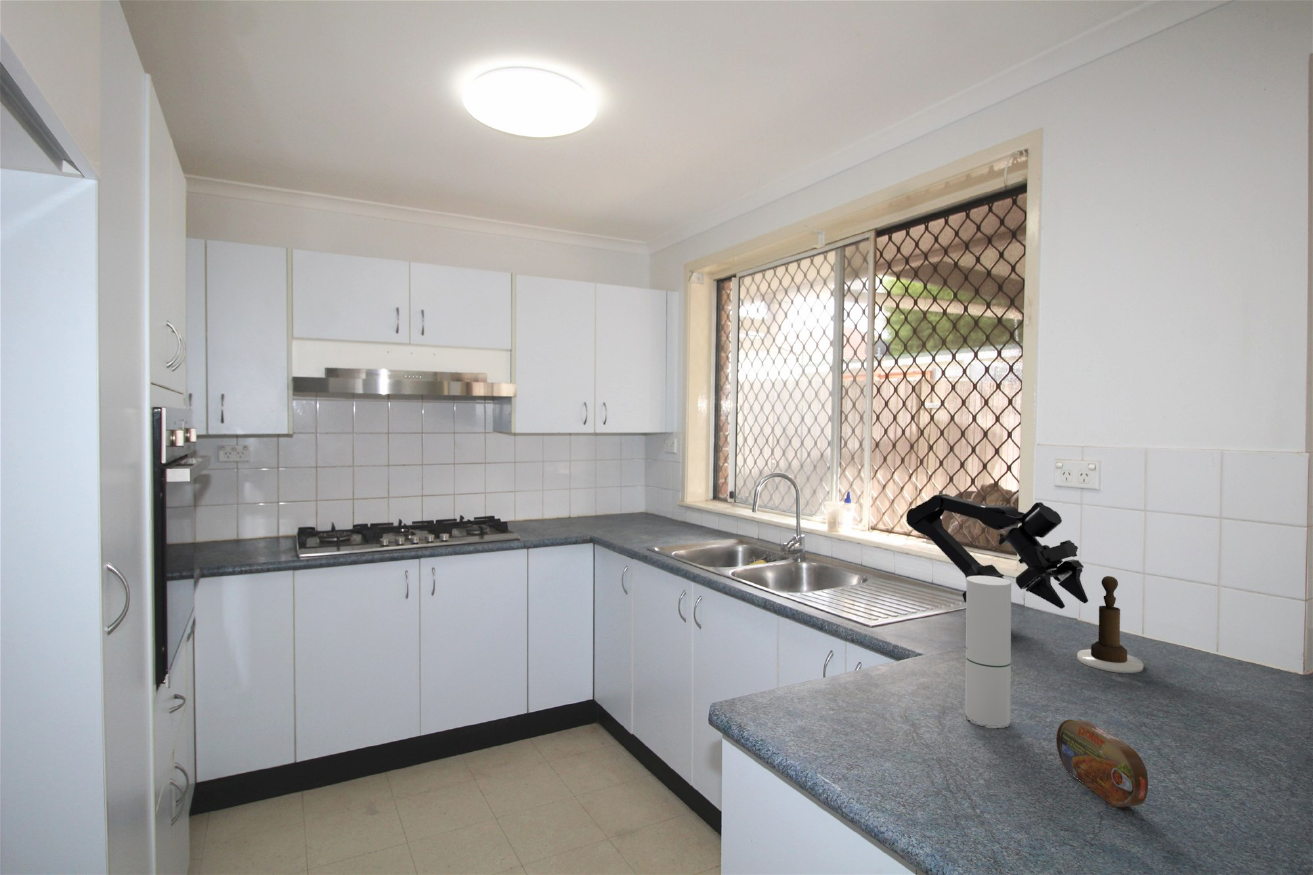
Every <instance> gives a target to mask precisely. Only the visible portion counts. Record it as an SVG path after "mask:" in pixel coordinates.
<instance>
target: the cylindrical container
mask: <svg viewBox="0 0 1313 875" xmlns="http://www.w3.org/2000/svg"><path fill="white" fill-rule="evenodd" d="M1003 578H1004V577H1003ZM1003 578H999V577H992V576H970V577H967V578H966V577H965V579H966V580H965V582H966V589H965V591H966V602H965V604H966V605H965V619H966V620H965V699H964V701H965V712H964V713H966V715H967V716H968V717H969V718H970V719H973V720H974V721H978V722H979V723H985V724H988V725H998V726H1001V725H1007V724H1009V723H1010V724H1011V674H1012V672H1011V670H1012V669H1011V664H1012V663H1011V662H1012V661H1011V660H1012V659H1011V658H1012V656H1011V655H1012V653H1011V652H1012V635H1011V634H1012V581H1010V580H1008V579H1006V578H1004V579H1003Z"/></svg>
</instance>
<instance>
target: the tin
mask: <svg viewBox="0 0 1313 875" xmlns="http://www.w3.org/2000/svg"><path fill="white" fill-rule="evenodd" d="M1055 738H1056V739H1055V740H1056V748H1057V749H1056V750H1057V753H1058V756H1059V759H1060V761H1061V764H1062V766H1063V767H1064V769H1065V771H1066V772H1067V771H1068V772H1067V773H1068V774H1069V773H1071V774H1072V775H1074V776H1075V777H1076V778H1078V780H1080V781H1081V782H1083V784H1085V785H1086V786H1088V787H1089V788H1090V789H1091V790H1090V789H1089V788H1088V789H1089V790H1090V791H1092V790H1093V791H1094V792H1096V793H1095V794H1096V795H1097V794H1098V795H1099V796H1098V795H1097V796H1098V797H1100V796H1101V797H1102V798H1103V800H1104V799H1105V800H1106V801H1105V800H1104V801H1105V802H1107V803H1108V804H1109V803H1110V805H1111V806H1113V807H1117V808H1125V807H1137V806H1138V807H1139V806H1140V805H1141V804H1143V803H1144V802H1145V801H1146V799H1147V796H1148V791H1149V779H1148V778H1149V777H1148V776H1149V774H1148V771H1147V768H1146V765H1145V763H1144V762H1143V759H1142V758H1141V757H1140V755H1139V753H1137V751H1136V750H1135V749H1134V748H1133V747H1131V746H1130V745H1129V744H1128V743H1125V742H1124V741H1122V740H1120V739H1118V738H1117V737H1115V736H1113V735H1111V733H1108V732H1107V731H1105V730H1104V729H1102V728H1100V727H1099V726H1096V725H1095V724H1094V723H1091V722H1089V721H1086V720H1075V719H1066V720H1064V721H1062V722H1061V723H1060V724H1059V726H1058V728H1057V732H1056V737H1055ZM1078 780H1077V781H1078ZM1081 782H1080V783H1081ZM1083 784H1082V785H1083ZM1085 785H1084V786H1085ZM1086 786H1085V787H1086ZM1093 791H1092V792H1093ZM1094 792H1093V793H1094ZM1101 797H1100V798H1101ZM1102 798H1101V799H1102Z"/></svg>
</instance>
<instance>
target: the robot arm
mask: <svg viewBox="0 0 1313 875" xmlns="http://www.w3.org/2000/svg"><path fill="white" fill-rule="evenodd" d="M946 512H950V513H954V514H957V515H961V516H964V517H968V518H972V519H975V520H977V521H979V522H980V523H981V524H982V525H984V526H986V527H988V528H990V529H992V530H995V531H1001V530H1008V531H1007V532H1006V533H999V539H998V545H1000V546H1004V545H1010V547H1011V548H1012V549H1013V550H1014V552H1015V553H1016V554H1017V556H1018V557H1019V559H1017V561H1018V562H1019V563H1020V565H1021V564H1025V566H1026V567H1027V568H1025V569H1024V570H1023V571H1021V572H1020V573H1019V574H1018V575H1017V576H1016V577H1015V583H1016V585H1017V586H1018V588H1019V589H1020V590H1025V591H1026V592H1028V593H1031V594H1032V595H1035V596H1037V597H1039V598H1040V599H1042V600H1044V601H1046V602H1048V603H1051V605H1054V606H1055V607H1057V608H1059V609H1061V610H1062V609H1064V608H1065V607H1066V605H1065V603H1064V601H1063V600H1062V598H1061V597H1060V595H1059V593H1058V592H1057V591H1056V589H1055V588H1054V586H1053V585H1052V582H1051V579H1054V580H1055V581H1056V582H1058V583H1057V585H1058V586H1060V587H1061V588H1062V589H1064V590H1065V591H1066V592H1068V593H1069V594H1070V595H1071V596H1073V597H1074V598H1076V599H1077V600H1078V601H1080V602H1081V603H1083V604H1087V603H1088V602H1089V599H1088V597H1087V593H1086V591H1085V589H1084V587H1083V584H1082V582H1081V574H1082V573H1083V569H1084V568H1085V567H1084V565H1083V563H1082V562H1080V560H1079V559H1074V558H1075V557H1077V556H1078V554H1077V552H1078V549H1079V547H1078V546H1077V545H1076V544H1075V543H1074V542H1072V541H1071V539H1068V540H1064V541H1060V542H1059V544H1058V545H1055V546H1052V547H1050V546H1049V545H1047V544H1044V545H1042V543H1041V542H1040V541H1039V540H1038V539H1037V537H1038V538H1041V539H1042V538H1043V539H1044V538H1045V537H1046V536H1047V535H1048V534H1050V533H1051V532H1052V531H1054V529H1057V527H1058V526H1059V525H1061V524H1062V522H1063V520H1062V517H1061V515H1060V514H1059V513H1058V511H1056V510H1054V509H1053V508H1051V507H1049V506H1047V505H1045V504H1044V503H1043V502H1041V501H1040V502H1039V501H1038V502H1035V503H1034V504H1033V505H1032V507H1031V508H1029V510H1027V511H1026V512H1022V511H1019V510H1018V508H1017V507H1016V506H1013V505H1003V504H983V503H980V502H976V501H972V500H967V499H966V498H965V499H964V498H961V497H956V496H952V495H950V494H948V493H941V494H940V493H939V494H934V495H933V496H931V497H930V498H929V499H928V500H926V501H924V502H922V503H920V504H918V505H917V506H915V507H911V508H909V510H908V511H907V512H906V520H905V521H906V524H907V525H908V527H910V528H911V529H913V530H914V531H916V532H917V533H918V534H920V535H924V536H925V537H927V538H928V539H930V541H932V542H933V544H935V545H936V547H937V548H939V549H940V551H941V552H943V554H944V555H945V556H946V557H947V558H948V559H949V560H950V561H951V562H952V564H954V565H955V566H956V567H957V568H958V569H959V570H960V572H962V574H963V575H964V577H965V579H966V578H967V577H970V576H992V577H999V578H1003V579H1005V578H1004V577H1005V575H1004V574H1003V573H1001V572H1000V571H999V570H998V569H997V568H996V566H994V565H993V564H987V565H982V564H981V563H980V562H978V560H977V559H976V558H975V557H974V556H973V555H972V554H971V553H970V552H969V551H968V550H967V549H966V548H965V547H964V546H963V545H962V544H961V543H960V542H959V541H958V540H957V539H956V538H955V537H954V536H953V535H952V534H951V533H950V532H949V531H948V530H947V529H946V528H945V527H944V524H943V521H942V520H943V519H942V518H941V517H943V516H944V514H945V513H946ZM1009 529H1010V530H1009ZM1068 558H1069V559H1068ZM1070 558H1073V559H1070ZM1064 559H1067V560H1064ZM1063 560H1064V561H1063ZM961 595H962V597H963V598H962V599H963V602H964V603H966V590H965V591H963V593H962V594H961Z"/></svg>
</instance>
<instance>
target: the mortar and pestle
mask: <svg viewBox="0 0 1313 875" xmlns="http://www.w3.org/2000/svg"><path fill="white" fill-rule="evenodd" d="M1101 579H1102V580H1101V586H1102V588H1103V589H1104V591H1105V595H1104V596H1103V601H1104V604H1105V605H1099V606H1098V641H1095V642H1093V643H1092V644H1091V646H1090V649H1091V656H1093V657H1094V658H1097V659H1100V660H1103V661H1109V662H1115V663H1123V662H1126V661H1127V655H1128V649H1126V648H1125V647H1124V646H1123V645H1122V644H1121V640H1120V639H1121V608H1120V607H1117V606H1115V605H1116V601H1117V598H1116V596H1115V595H1114V593H1115V591H1116V590H1117V588H1118V586H1119V582H1118V580H1117V579H1116V578H1115V577H1114V576H1111V575H1110V576H1109V575H1107V576H1104V577H1103V578H1101Z"/></svg>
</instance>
